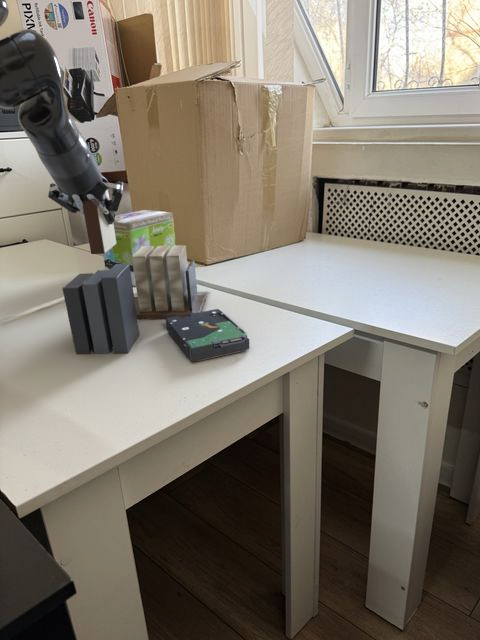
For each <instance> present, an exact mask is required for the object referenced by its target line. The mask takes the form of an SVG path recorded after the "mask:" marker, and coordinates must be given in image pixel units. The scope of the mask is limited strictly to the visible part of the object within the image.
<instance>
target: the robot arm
mask: <svg viewBox="0 0 480 640" xmlns="http://www.w3.org/2000/svg"><path fill="white" fill-rule="evenodd" d="M9 9H10V8H9V5H8V2H7V0H0V28H1V27H2V26H3V24H5V22H6V21H7V19H8V17H9ZM58 59H59V58H58V56H57V53H56V52H55V50H54V48H53V46H52V45H51V44H50V42H49V41H48V39H47V38H45V37H44V36H43V35H42V34H41V33H39V32H37V31H36V30H33V29H30V28H25V29H21V30H18V31H16V32H14V33H11V34H10V35H8V36H6V37H4V38H2V39H0V108H1V109H5V110H10V109H13V108H16V107H19V108H18V112H17V119H18V123H19V124H20V125H19V126H20V127H21V128H22V130H23V132H24V133H25V135H26V136H27V138H28V139H29V141H30V143H31V145H32V146H33V147H34V149H35V151H36V153H37V156H38V158H39V160H40V162H41V163H42V164H43V166H44V167H45V169H46V171H47V172H48V174H49V176H50V178H52V180H53V182H54V183H50V184H49V188H48V195H47V198H48V199H50V200H51V201H52V202H53V201H54V202H55V203H56V204H58V205H60V206H61V207H62V208H64V209H66V210H67V211H68V212H70V213H72V214H77V213H78V212H80V214H82V215H83V216H84V211H83V206H84V205H83V201H92V202H93V204H94V205H96V206H97V208H99V209H100V210H101V211H102V213H103V215H104V217H105V219H106V221H107V222H108V224H109V225H111V224H113V222H115V216H116V212H118V210H119V207H120V204H121V202H122V198H123V192H124V182H123V181H121V180H117V181H116V182H115V183H113V182H109V181H108V179H107V178H106V177H104V176H103V174H102V172H101V169H100V167H99V165H98V163H97V161H96V158H95V157H94V155H93V153H92V151H91V149H90V147H89V145H88V143H87V141H86V139H85V137H84V136H83V134H82V133H81V131H80V130H79V128H78V127H77V125H76V123H75V121H74V119H73V116H72V115H71V112H70V111H69V109H68V105H67V101H66V98H65V92H64V91H65V90H64V83H63V77H62V76H63V75H62V71H61V66H60V62H59V60H58ZM106 190H108V192H109V195H111V199H110V198H109V199H110V200H109V199H108V198H107V196H106V193H105V192H106ZM69 202H70V203H69Z"/></svg>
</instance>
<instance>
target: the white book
mask: <svg viewBox="0 0 480 640" xmlns="http://www.w3.org/2000/svg"><path fill="white" fill-rule="evenodd" d="M105 193H106V196H107V198H108V199H109V200H111V198H110V192H109V190H106V192H105ZM83 205H84V206H83V211H84V215H83V216H84V222H85V227H86V234H87V238H88V244H89V251H90V254H91V255H103V254H105V253H106V252H107V251H108V250H109V249H111V248H112V247H113V246H114V245H115V244H116V237H115V231H114V225H113V224H111V225H109V224H108V222H107V221H106V219H105V217H104V215H103V213H102V211H101V210H100V209H99V208H97V206H96V205H94V204H93V202H92V201H83Z"/></svg>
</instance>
